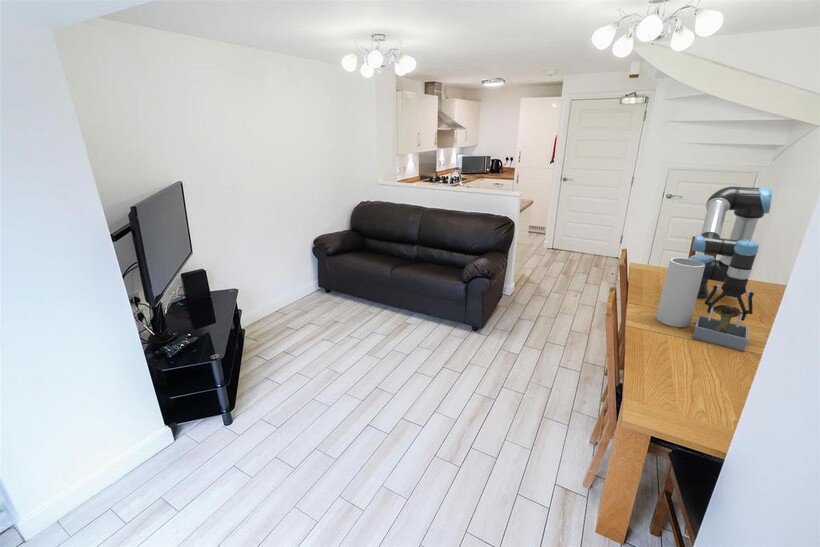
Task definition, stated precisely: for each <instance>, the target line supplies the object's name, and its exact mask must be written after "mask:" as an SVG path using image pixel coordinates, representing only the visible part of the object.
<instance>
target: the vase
mask: <svg viewBox="0 0 820 547" xmlns="http://www.w3.org/2000/svg"><path fill="white" fill-rule="evenodd" d="M704 269H705V263H703V262H701V261H698V260H694V259H689V257H672V258H670V259H669V263H668V267H667V271H666V275H665V279H664V282H663V285H662V286H663V287H662V290H661V294H660V298H659V302H658V305H657V309H656V310H657V311H656V315H655V318H656V320H657V321H658V322H659V323H661V324H663V325H666V326H670V327H674V328H686V327H688V326H690V323H691V322H692V321H691V320H692V317H693V314H694V310H695V307H696V302H697V300H698V299H697V295H698V292H699V288H700V284H701V280H702V276H703V272H704Z"/></svg>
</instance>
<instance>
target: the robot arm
mask: <svg viewBox="0 0 820 547" xmlns="http://www.w3.org/2000/svg"><path fill="white" fill-rule="evenodd" d="M772 196H773V191H772V190H771V189H770V188H762V187H748V186H747V187H746V186H745V187H744V186H728V187H723V188H721V189H719V190H717V191H715V192H714V193H713V194H711V195H710V197H709V198H708V199H707V200H706V204H705V209H706V213H705V217H704V220H703V225H702V228H701V232H700V234H699V235H695V236H694V240H693V243H692V247H691V250H692V251H693V252H698V253H703V254H695V255H691V256H689V257H688V258H689V259H694V260H698V261H701V262H703V263H705V269H704V272H703V276H702V280H701V284H700V288H699V292H698V295H697V299H696V300H698V299H700V300H702V299H703V300H704V299H705V300H704V305H707V311H706V313H708V315H709V316H708V320H709V321H710V319H711V318H712V315H713V313H714V311H713V309H714V307H715V304H717V303H719V301H721V300H722V299H723V298H725V297H732V298H734V299H737V301H738V304H739V306H740V309H741V311H740V312H741V313H740V315H739V316H738V319H737V321H736V323H735V324H736V327H739V325H741V321H743V322H744V321H745V320H746V316H747V315H752V314H753V296H754V292H755V291H753V290H748V289H746V288H747V285H748V282H749V278H750V275H751V272H752V269H753V266H754V263H755V259H756V258H757V254H758V252H759V243H758V242H755V241H752V240H753V235H754V233H755V230H756V228H757V224H758V221H759V219H761V218H763V217H764V216H765V215H766V214H769V213H770V209H771V207H772V206H771V205H772ZM728 211H733V214H734V216H736V217H735V221H734V225H733V227H732V231H731V234H730V237H729V238H722V237H721V235H722V232H723V228H724V222H725V218H726V214H727V212H728ZM709 254H711V255H709ZM713 255H718V256H720V258H719V259H716V258H715V256H713ZM709 281H712V282H713V281H714V282H721V283H723V284H722V285H719V284H717V283H714V284H713V289H712V290H711V292H709V286H708V283H709ZM720 289H721V290H722V292H721V293H720V294H719V295H718V296H716V297H715V298H714V299H713V300H712V298H713V297H714V295H715V294H716V293H717V291H719V290H720ZM744 294H746V297H748V298H747V301H748V302H747V303H748V304H747V305H748V309H747V308H746V305H745V303H744V301H743V298H742V295H744ZM711 300H712V301H711Z"/></svg>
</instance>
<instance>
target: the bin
mask: <svg viewBox="0 0 820 547" xmlns="http://www.w3.org/2000/svg"><path fill="white" fill-rule="evenodd" d="M708 318H709V316H702V315H698V316H697V319H696V323H695V327H694V330H693V332H692V333H693V334H692V336H691V339H694V340H696V341H697V340H698V341H701V342H704V343H708V344H713V345H715V346H720V347H723V348H727V349H732V350H735V351H739V352H743V353H744V352H745V350H746V348H747V345H748V342H749V326H748V325H747V326H745V325H743V324H739V327H736V324H737V323H733V322H730V323H729V328H728V330H727V332H726V333H722V332H718V331H715V328H716V327H717V326H718V325H719V324H720V323H721V319H716V318H712V317H711V319H710V321H709V320H708Z"/></svg>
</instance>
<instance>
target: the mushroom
mask: <svg viewBox="0 0 820 547" xmlns="http://www.w3.org/2000/svg"><path fill="white" fill-rule="evenodd" d="M741 312H742V311H741V310H740V309H739V308H737V307H736V306H733V305H728V304H720V305H719V304H718V305H716V306H715V305H714V309H713V313H716V314H717V315H720V320H721V323H720V324H719V325H718V326H717V327H716V328H715V331H718V332H722V333H726V332H727V330H728V328H729V323H731V319H732V318H737V317H739V315H740V313H741Z"/></svg>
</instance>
